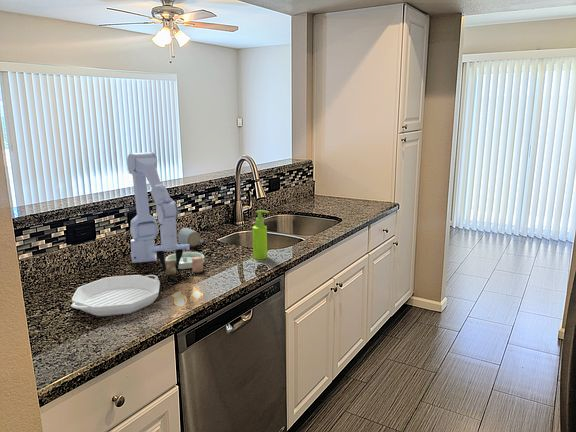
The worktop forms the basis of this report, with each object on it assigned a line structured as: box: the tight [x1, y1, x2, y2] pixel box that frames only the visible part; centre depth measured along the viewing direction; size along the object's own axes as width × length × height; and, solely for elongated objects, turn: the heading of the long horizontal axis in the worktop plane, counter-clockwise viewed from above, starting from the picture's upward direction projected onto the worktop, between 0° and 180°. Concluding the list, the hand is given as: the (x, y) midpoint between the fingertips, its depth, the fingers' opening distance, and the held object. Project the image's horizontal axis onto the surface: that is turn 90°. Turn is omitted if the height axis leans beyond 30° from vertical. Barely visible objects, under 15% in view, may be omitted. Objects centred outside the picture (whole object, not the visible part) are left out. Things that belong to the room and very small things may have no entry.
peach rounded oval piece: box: [191, 257, 204, 273], centre depth 171 cm, size 4×4×5 cm
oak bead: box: [164, 259, 177, 276], centre depth 168 cm, size 4×4×5 cm
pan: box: [70, 274, 161, 317], centre depth 143 cm, size 31×25×4 cm
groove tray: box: [165, 251, 205, 270], centre depth 181 cm, size 15×15×2 cm
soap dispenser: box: [252, 209, 270, 260], centre depth 185 cm, size 6×7×20 cm
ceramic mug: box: [177, 227, 204, 248], centre depth 205 cm, size 11×8×8 cm
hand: (170, 269), depth 169 cm, fingers closed on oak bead, 4 cm apart
